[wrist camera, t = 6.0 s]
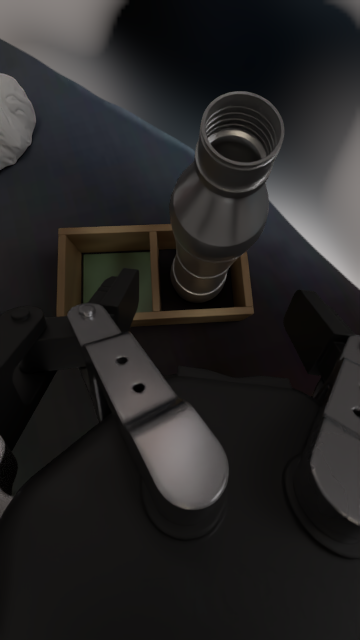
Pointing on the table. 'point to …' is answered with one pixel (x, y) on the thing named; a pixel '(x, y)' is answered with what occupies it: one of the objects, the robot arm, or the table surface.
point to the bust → (14, 121)
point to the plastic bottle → (223, 192)
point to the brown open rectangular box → (149, 272)
